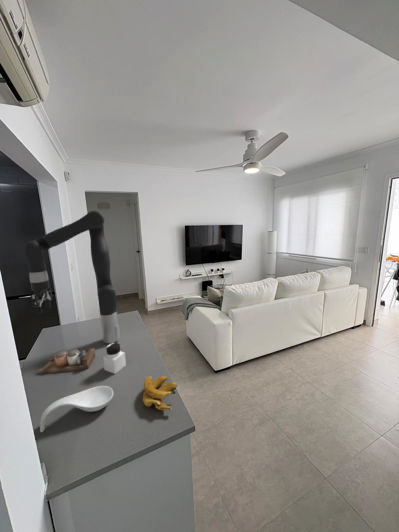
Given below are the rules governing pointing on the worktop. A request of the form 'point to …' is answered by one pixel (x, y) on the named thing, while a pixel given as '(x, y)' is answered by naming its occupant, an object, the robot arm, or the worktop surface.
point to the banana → (157, 392)
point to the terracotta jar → (61, 359)
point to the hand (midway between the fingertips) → (44, 310)
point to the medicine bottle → (114, 358)
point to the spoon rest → (82, 401)
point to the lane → (85, 365)
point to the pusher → (80, 357)
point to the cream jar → (72, 357)
